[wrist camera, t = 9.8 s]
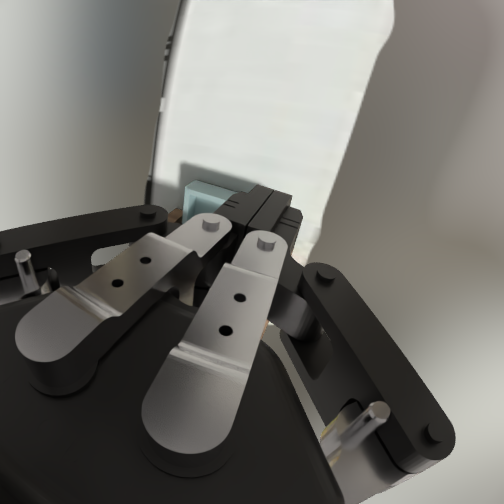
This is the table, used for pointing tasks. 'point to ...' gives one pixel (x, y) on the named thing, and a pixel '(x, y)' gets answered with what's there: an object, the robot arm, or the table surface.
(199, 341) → the robot arm
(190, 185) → the light blue square tray
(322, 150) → the table surface
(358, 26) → the table surface
